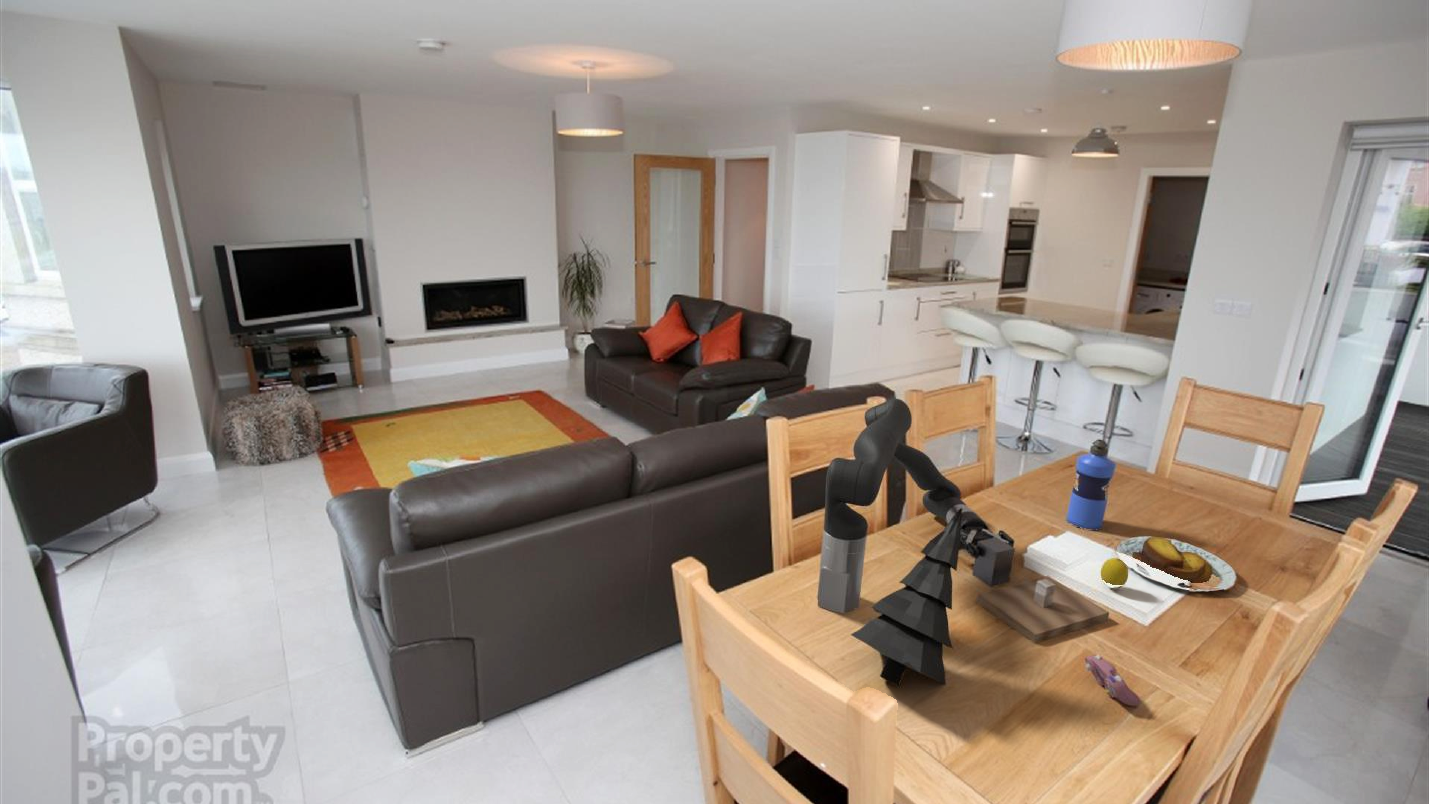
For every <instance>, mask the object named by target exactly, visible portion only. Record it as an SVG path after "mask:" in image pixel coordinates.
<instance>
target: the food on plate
mask: <svg viewBox="0 0 1429 804" xmlns="http://www.w3.org/2000/svg"><path fill="white" fill-rule="evenodd" d="M1116 551H1117V552H1119V553H1124V554H1126V555H1130V556H1131V555H1132V557H1133V558H1135V559H1138V560H1140V561H1141V562H1144V563H1146V564H1147V565H1150V567H1152V568H1156V569H1159V570H1161V571H1164V572H1165V573H1167V574H1170V575H1172V576H1174V577H1178V578H1180V579H1183V580H1188V581H1190V582H1191V583H1203V582H1207V581H1209V579H1210V578H1211V575H1212V574H1214V575H1215V576H1216V577H1219V578H1220V580H1221V582H1220V584H1219V585H1218V586H1217V587H1213V588H1209V589H1197V590H1194V589H1191V590H1189V591H1188V592H1192V593H1194V592H1210V591H1219V590H1224V591H1227V590H1230V589H1232V588H1233V587H1234V586H1235V585H1236V586H1237V583H1238V581H1239V579H1238V577H1237V573H1236V571H1235V570H1234V568H1233V567H1232V566H1231V565H1230V564H1229V563H1227V562H1226V561H1225V560H1223V559H1221V558H1219V557H1218V556H1217V555H1215V554H1214V553H1211V552H1209V551H1207V550H1205V549H1203V548H1200V547H1197V546H1195V545H1192V544H1190V543H1188V542H1184V541H1183V542H1182V541H1180V540H1178V539H1175V538H1173V539H1171V538H1166V537H1162V536H1150V535H1148V536H1146V535H1145V536H1134V537H1129V538H1126V539H1122V540H1121V541H1120V542H1118V543H1117V544H1116V546H1115V552H1116ZM1236 586H1235V587H1236Z"/></svg>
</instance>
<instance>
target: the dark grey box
mask: <svg viewBox="0 0 1429 804" xmlns="http://www.w3.org/2000/svg"><path fill="white" fill-rule="evenodd" d="M976 548H977V549H978V550H979V556H978V558H974V563H973V569H972V576H973V577H974V578H976V579H978V580H979V581H981V582H982V583H984V585H987V586H989V587H990V588H992V587H997V586H1000V585H1004V584H1009V583H1010V577H1011V572H1012V569H1013V568H1012V566H1013V561H1014V557H1015V553H1014V551H1015V550H1016V548H1015V547H1014V546H1013V547H1012V546H1010V545H1008V544H1006V543H1005V542H1003V541H1001V540H1000V539H998V538H996V537H995V538H991V539H986V540H982V541H978V543H977V546H976ZM1015 552H1016V551H1015Z"/></svg>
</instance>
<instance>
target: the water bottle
mask: <svg viewBox="0 0 1429 804" xmlns="http://www.w3.org/2000/svg"><path fill="white" fill-rule="evenodd" d="M1091 444H1092V445H1090V449H1089V453H1087V454H1081V455H1079V456H1078V457H1077V460H1076V466H1075V482H1074V485H1073V487H1072V490H1071V493H1070V499H1069V503H1068V508H1067V512H1066V513H1067V514H1066V518H1065V520H1066V519H1067V520H1066V522H1067V521H1068V522H1069V523H1071V524H1073V525H1075V526H1077V527H1076V528H1078V527H1082V528H1086V529H1092V530H1091V531H1097V530H1096V529H1099V530H1101V529H1102V528H1101V527H1103V522H1104V519H1105V515H1106V514H1105V512H1106V509H1107V504H1108V498H1109V497H1108V496H1109V488H1110V484H1111V482H1112V478H1113V477H1114V475H1115V471H1116V467H1117V464H1116V462H1115V461H1114V460H1111V458H1108V457H1107V455H1108V452H1109V449H1108V448H1107V447H1109V445H1108V443H1107V442H1106V441H1105V440H1104V439H1096V440H1094V441H1093V442H1092V443H1091ZM1068 522H1067V523H1068ZM1069 523H1068V524H1069ZM1071 524H1070V525H1071ZM1073 525H1072V526H1073ZM1075 526H1074V527H1075ZM1100 528H1101V529H1100Z"/></svg>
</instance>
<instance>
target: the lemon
mask: <svg viewBox="0 0 1429 804" xmlns="http://www.w3.org/2000/svg"><path fill="white" fill-rule="evenodd" d="M1100 578H1102V579H1101V581H1102V580H1104V581H1105V582H1106V583H1110V584H1112V585H1123V586H1124V585H1125V584H1126V583H1127V582H1128V581H1127V580H1128V578H1129V567H1128V566H1127V565H1126V564H1125V563H1124V562H1123V561H1122V560H1120V559H1119V557H1113V558H1109V559H1107V560H1106V561H1104V562H1103V564H1102V566H1101V570H1100Z"/></svg>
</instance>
